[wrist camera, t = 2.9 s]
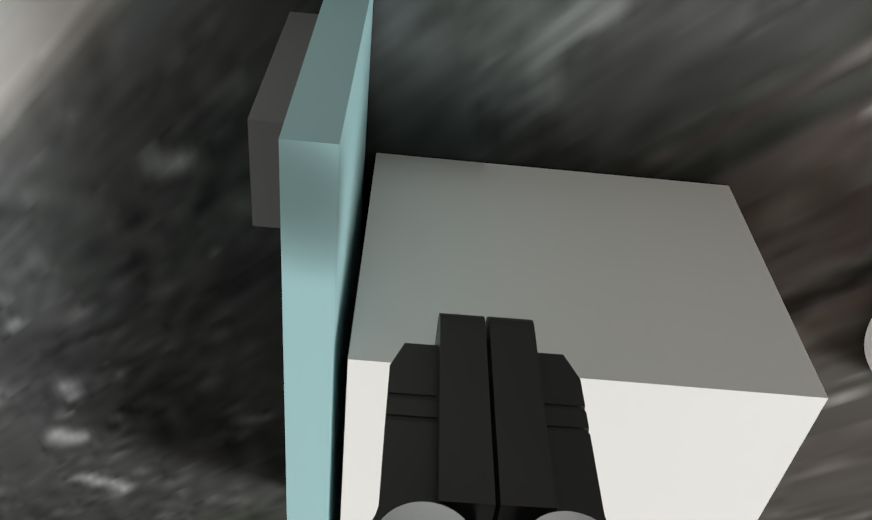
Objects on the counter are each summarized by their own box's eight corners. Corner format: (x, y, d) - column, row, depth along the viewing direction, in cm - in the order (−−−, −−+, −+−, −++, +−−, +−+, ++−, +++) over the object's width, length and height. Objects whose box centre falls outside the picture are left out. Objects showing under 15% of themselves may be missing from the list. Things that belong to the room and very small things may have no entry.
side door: (346, 501, 33) (322, 708, 27) (300, 498, 33) (266, 704, 27) (374, -24, 20) (339, 144, 14) (298, -32, 20) (229, 134, 14)
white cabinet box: (376, 153, 23) (343, 388, 16) (728, 185, 24) (842, 428, 17) (353, 516, 34) (328, 751, 27) (596, 533, 34) (632, 768, 27)
